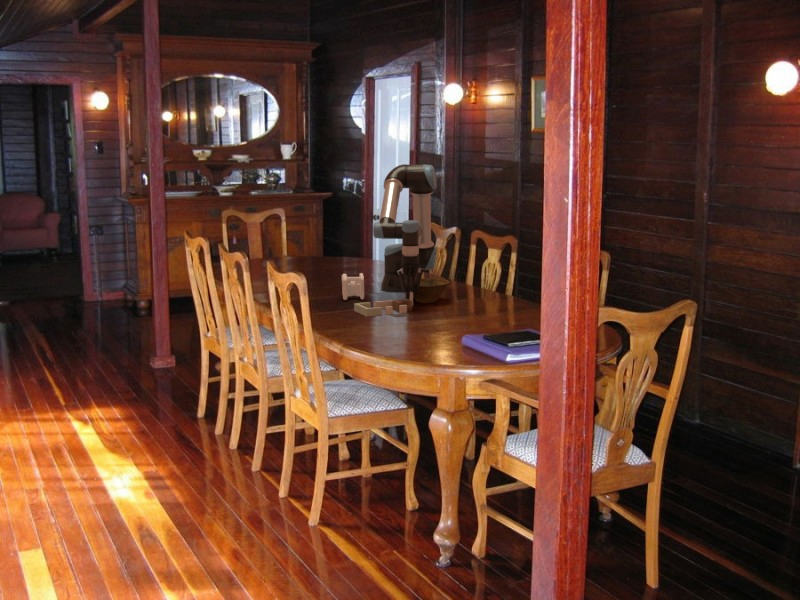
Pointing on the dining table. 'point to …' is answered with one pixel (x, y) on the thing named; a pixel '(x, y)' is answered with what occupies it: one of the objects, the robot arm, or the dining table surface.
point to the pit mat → (400, 315)
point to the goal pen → (367, 309)
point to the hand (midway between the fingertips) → (410, 305)
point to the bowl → (430, 290)
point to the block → (401, 302)
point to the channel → (390, 307)
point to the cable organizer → (353, 286)
